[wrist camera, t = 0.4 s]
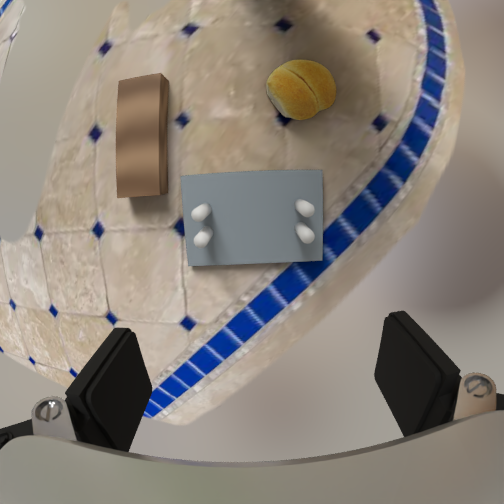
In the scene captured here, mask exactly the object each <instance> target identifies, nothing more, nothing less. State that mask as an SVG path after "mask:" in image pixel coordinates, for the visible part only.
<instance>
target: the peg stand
mask: <svg viewBox="0 0 504 504" xmlns="http://www.w3.org/2000/svg"><path fill="white" fill-rule="evenodd" d="M181 191H182V205H183V217H184V228H185V239H186V249H187V258H188V266H207V265H233V264H258V263H281V262H303V261H322V253H323V178H322V170H268V171H243V172H225V173H211V174H198V175H186V176H181Z"/></svg>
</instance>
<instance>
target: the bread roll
mask: <svg viewBox="0 0 504 504" xmlns="http://www.w3.org/2000/svg"><path fill="white" fill-rule="evenodd" d="M266 88H267V95H268V96H269V98H270V100H271V101H272V103H273V104H274V106H275V107H276V108H277V109H278V110H279V111H280V113H281V114H282V115H283V116H285V117H288V118H293V119H296V120H304V119H309V118H311V117H313V116H314V115H316V113H317V112H319V111H320V110H324V109H327V108H329V107H330V106H332V104H333V103H334V101H335V97H336V85H335V81H334V79H333V77H332V75H331V73H330V72H329V71H328V70H327V69H326V68H325V67H324V66H323V65H321V64H319V63H317V62H314V61H310V60H292V61H288V62H286V63H284V64H283V65H281V66H280V67H278V68H277V69H275V70H274V71H273V72H272V74H271V75H270V76H269V78H268V80H267V82H266Z"/></svg>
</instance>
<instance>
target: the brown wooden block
mask: <svg viewBox="0 0 504 504" xmlns="http://www.w3.org/2000/svg"><path fill="white" fill-rule="evenodd" d="M168 85H169V81H168V80H167V79H166V78H165V77H164V76H163V75H162V74H161V73H158V74H152V75H146V76H140V77H135V78H130V79H126V80H121V81H119V85H118V99H117V118H116V180H117V198H125V197H138V196H153V195H162V194H166V193H168V172H167V113H168Z"/></svg>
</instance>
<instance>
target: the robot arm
mask: <svg viewBox="0 0 504 504" xmlns="http://www.w3.org/2000/svg"><path fill="white" fill-rule="evenodd" d="M459 373H460V369H459V368H458V367H457V366H456V365H455V364H454V362H453V361H452V360H451V359H450V358H449V357H448V356H447V355H446V354H445V353H444V352H443V350H442V349H441V348H440V347H439V346H438V345H437V344H436V343H435V342H434V341H433V340H432V339H431V338H430V336H429V335H428V334H426V332H425V331H424V330H423V329H422V328H421V327H420V326H419V325H418V324H417V323H416V322H415V321H414V320H413V319H412V318H411V317H410V316H409V315H408V314H407V313H406V312H405V311H398V312H392V313H390V314H389V316H388V317H386V318H385V320H384V326H383V332H382V337H381V343H380V349H379V353H378V358H377V364H376V368H375V373H374V376H375V380H376V382H377V384H378V387H379V388H380V390H381V392H382V394H383V396H384V398H385V400H386V402H387V404H388V406H389V408H390V409H391V411H392V414H393V416H394V418H395V419H396V421H397V423H398V425H399V427H400V429H401V432H402V433H403V436H404V437H403V438H400V439H396V440H393V441H389V442H385V443H382V444H378V445H374V446H370V447H366V448H361V449H357V450H352V451H347V452H342V453H336V454H330V455H323V456H317V457H309V458H301V459H291V460H281V461H264V462H206V461H191V460H179V459H169V458H161V457H154V456H148V455H141V454H136V453H130V452H129V449H130V446H131V444H132V441H133V439H134V436H135V434H136V431H137V428H138V426H139V423H140V421H141V418H142V416H143V413H144V411H145V409H146V406H147V404H148V401H149V399H150V396H151V394H152V385H151V382H150V379H149V376H148V373H147V370H146V367H145V364H144V361H143V357H142V354H141V351H140V347H139V344H138V341H137V337H136V334H135V333H134V332H132V331H131V330H130V329H129V328H114V329H113V331H112V332H111V333H110V334H109V336H108V337H107V338H106V339H105V341H104V342H103V343H102V344H101V346H100V347H99V348H98V350H97V351H96V352H95V353H94V355H93V356H92V357H91V359H90V360H89V361H88V362H87V364H86V365H85V366H84V368H83V369H82V370H81V372H80V373H79V374H78V376H77V377H76V378H75V380H74V381H73V382H72V384H71V385H70V386H69V388H68V389H67V391H66V392H65V394H66V395H67V398H66V399H65V401H64V400H63V399H62V398H60V397H55V396H52V397H46V398H44V399H42V400H40V401H39V402H37V403H36V404H35V406H34V407H33V409H32V419H30V420H27V421H24V422H21V423H18V424H15V425H11V426H8V427H5V428H2V429H0V504H504V394H499V393H496V385H495V383H494V381H493V380H492V379H491V378H490V377H489V376H487V375H485V374H481V373H469V374H467V375H465V376H464V377H463V378H462V377H461V376H460V375H459Z"/></svg>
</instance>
